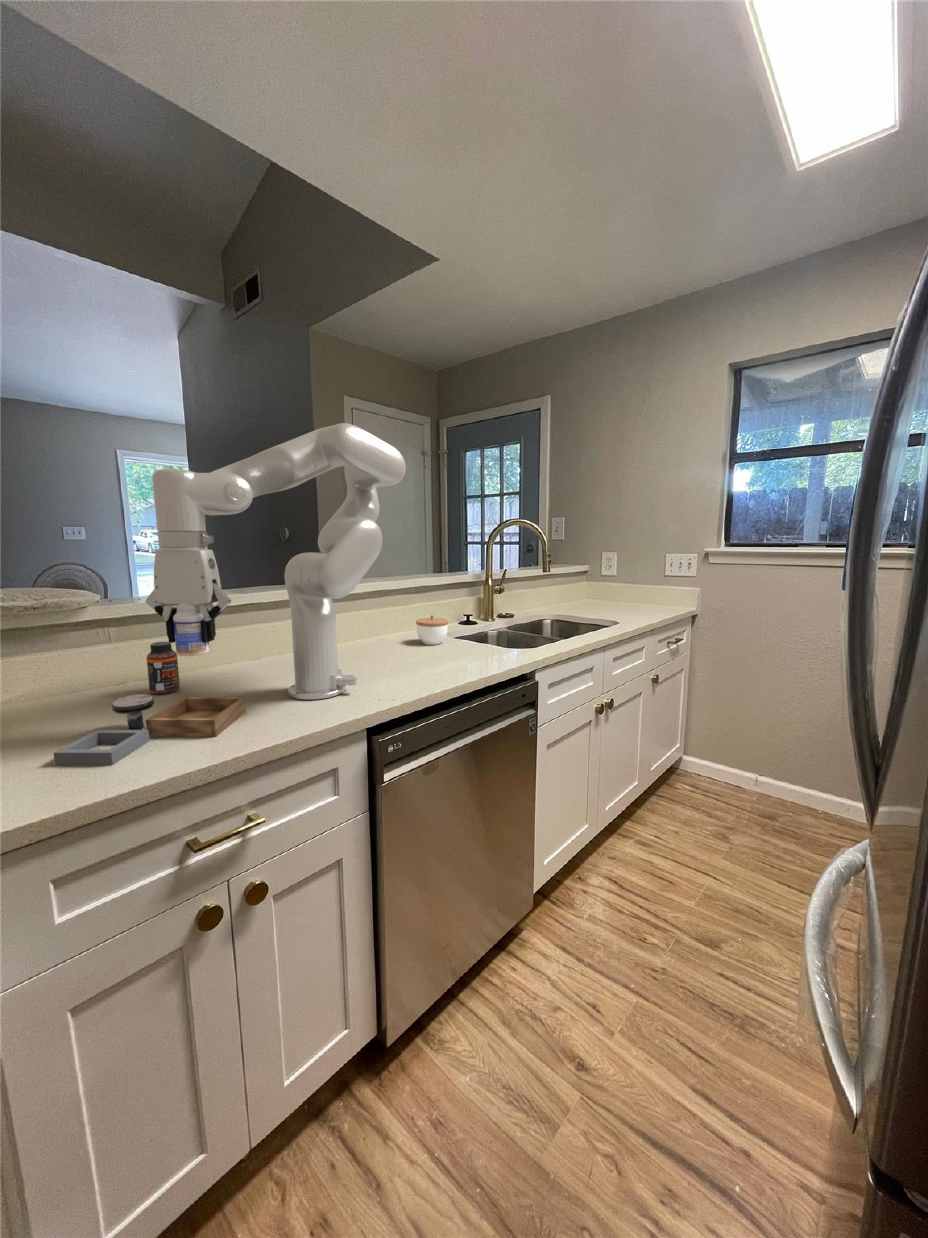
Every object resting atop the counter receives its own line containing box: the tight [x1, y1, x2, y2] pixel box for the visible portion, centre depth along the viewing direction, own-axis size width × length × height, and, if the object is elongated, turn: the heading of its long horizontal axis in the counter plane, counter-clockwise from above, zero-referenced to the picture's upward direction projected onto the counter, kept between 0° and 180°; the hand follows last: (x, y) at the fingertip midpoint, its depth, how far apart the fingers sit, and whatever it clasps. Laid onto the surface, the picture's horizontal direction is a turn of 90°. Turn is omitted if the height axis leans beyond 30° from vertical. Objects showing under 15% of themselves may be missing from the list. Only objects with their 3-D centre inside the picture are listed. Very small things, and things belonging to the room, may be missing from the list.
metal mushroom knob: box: [111, 693, 155, 730], centre depth 90 cm, size 6×6×6 cm
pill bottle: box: [173, 604, 210, 657], centre depth 89 cm, size 5×5×10 cm
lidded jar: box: [415, 614, 449, 646], centre depth 162 cm, size 11×11×9 cm
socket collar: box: [53, 729, 151, 766], centre depth 80 cm, size 9×9×2 cm
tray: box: [145, 696, 247, 738], centre depth 92 cm, size 12×12×3 cm
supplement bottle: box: [146, 641, 181, 695], centre depth 111 cm, size 6×6×11 cm
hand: (192, 640), depth 90 cm, fingers closed on pill bottle, 5 cm apart
